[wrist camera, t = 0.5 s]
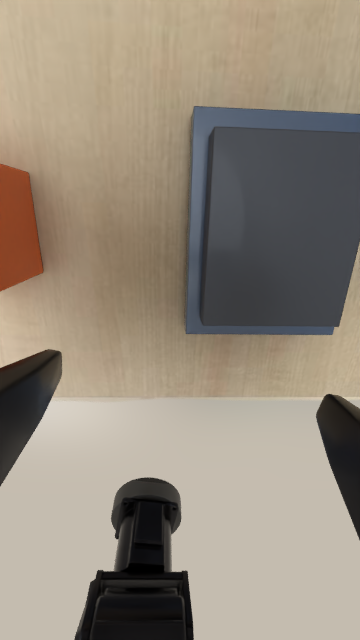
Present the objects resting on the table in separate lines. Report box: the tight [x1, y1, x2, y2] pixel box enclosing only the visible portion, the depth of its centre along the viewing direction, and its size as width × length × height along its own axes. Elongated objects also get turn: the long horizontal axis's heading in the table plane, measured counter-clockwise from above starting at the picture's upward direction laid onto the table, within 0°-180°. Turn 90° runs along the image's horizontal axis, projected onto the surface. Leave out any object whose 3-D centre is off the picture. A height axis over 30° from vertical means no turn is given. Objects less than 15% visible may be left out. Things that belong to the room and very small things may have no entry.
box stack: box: [184, 106, 360, 335], centre depth 19 cm, size 15×12×4 cm
